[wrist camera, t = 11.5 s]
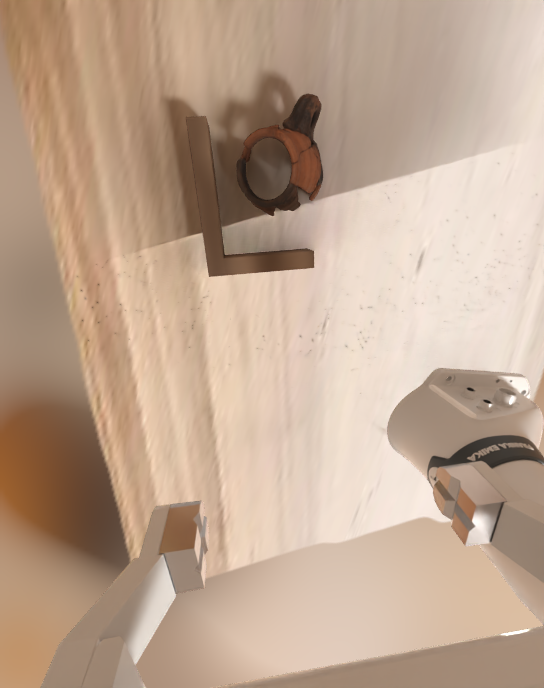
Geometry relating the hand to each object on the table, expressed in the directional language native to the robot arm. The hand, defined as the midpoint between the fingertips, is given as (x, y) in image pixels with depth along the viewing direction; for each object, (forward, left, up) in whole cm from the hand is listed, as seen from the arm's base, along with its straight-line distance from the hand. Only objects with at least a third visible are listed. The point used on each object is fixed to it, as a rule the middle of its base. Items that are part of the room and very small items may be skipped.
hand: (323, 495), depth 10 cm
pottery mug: (-6, -15, -35) cm, 39 cm away
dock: (+5, -11, -34) cm, 36 cm away
